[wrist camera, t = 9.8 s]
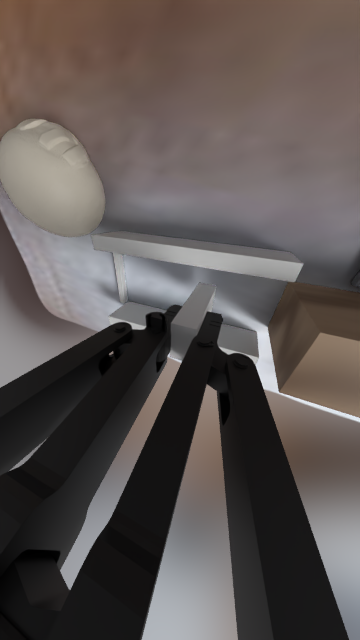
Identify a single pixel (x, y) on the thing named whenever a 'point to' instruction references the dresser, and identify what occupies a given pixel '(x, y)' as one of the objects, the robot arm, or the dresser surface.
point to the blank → (318, 346)
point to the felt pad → (356, 280)
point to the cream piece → (51, 178)
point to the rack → (198, 255)
